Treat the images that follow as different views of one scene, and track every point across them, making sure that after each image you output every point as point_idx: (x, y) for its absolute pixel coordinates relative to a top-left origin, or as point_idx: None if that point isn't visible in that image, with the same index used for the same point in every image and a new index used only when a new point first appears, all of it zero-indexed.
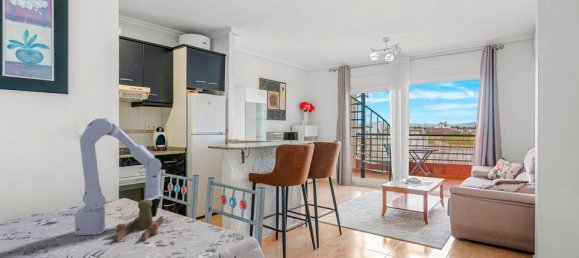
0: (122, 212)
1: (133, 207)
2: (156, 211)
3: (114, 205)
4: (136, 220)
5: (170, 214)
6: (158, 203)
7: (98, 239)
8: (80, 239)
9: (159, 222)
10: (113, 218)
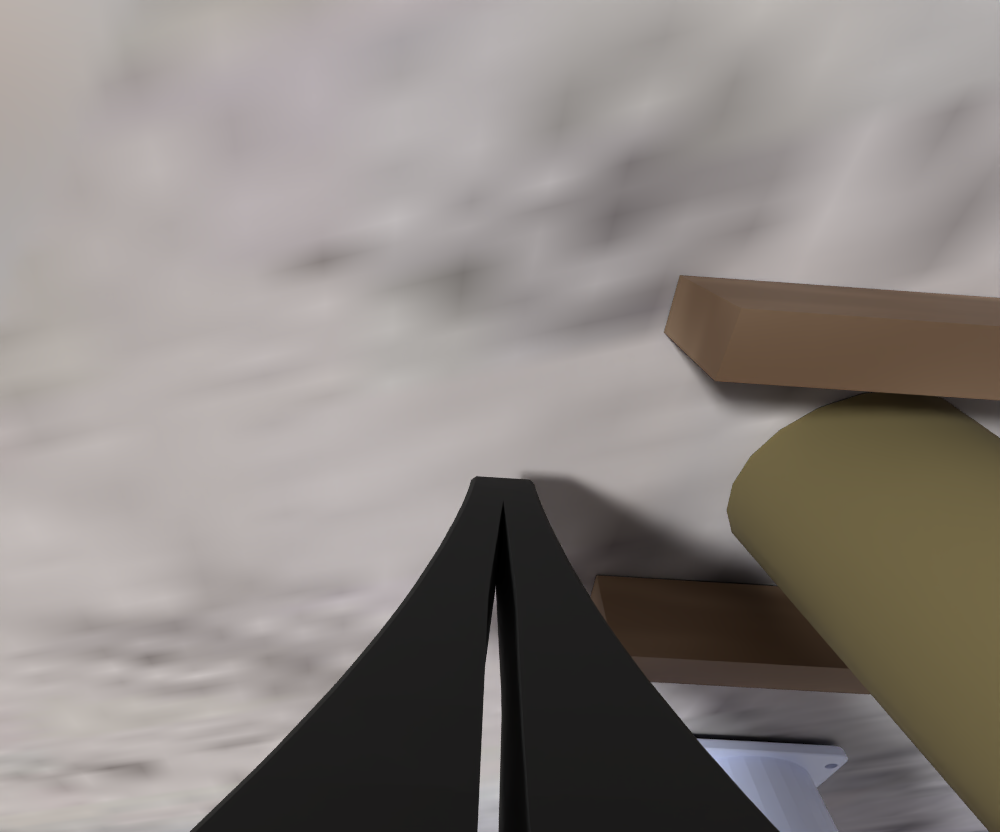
0: (203, 746)
1: (10, 720)
2: (495, 537)
3: (30, 804)
4: (778, 662)
5: (122, 241)
6: (477, 777)
7: None
8: (874, 786)
9: (994, 312)
10: None
